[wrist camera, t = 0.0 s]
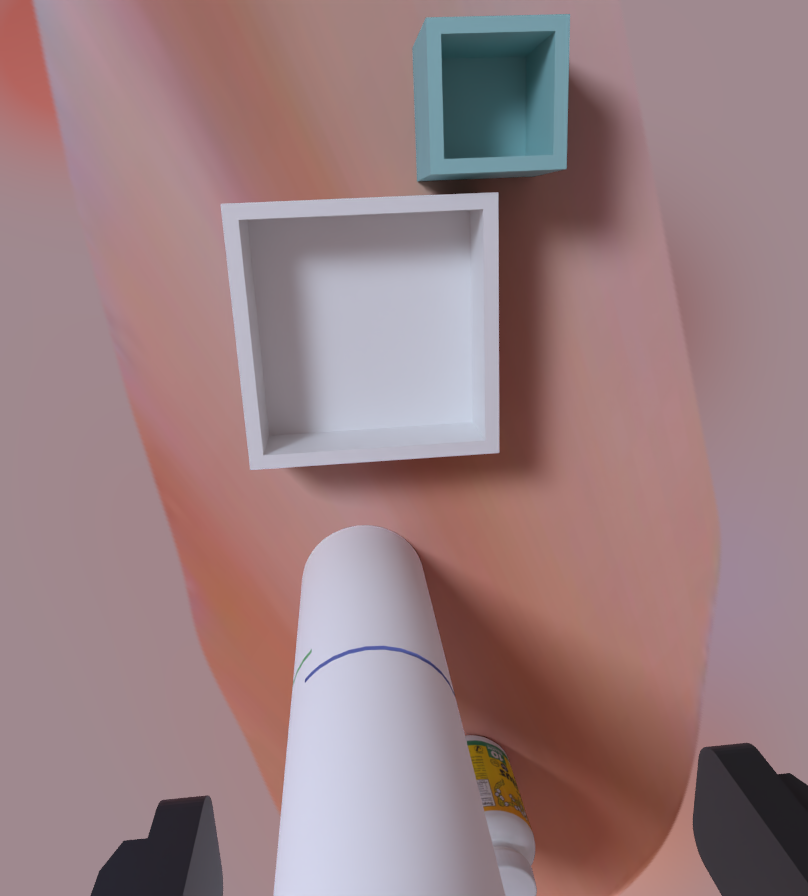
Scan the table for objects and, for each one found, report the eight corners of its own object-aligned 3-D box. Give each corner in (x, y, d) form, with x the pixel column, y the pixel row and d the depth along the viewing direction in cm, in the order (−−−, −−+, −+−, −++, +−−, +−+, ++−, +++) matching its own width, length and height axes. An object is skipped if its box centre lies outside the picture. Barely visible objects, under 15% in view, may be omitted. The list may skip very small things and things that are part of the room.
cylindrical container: (447, 586, 44) (583, 1026, 20) (355, 656, 44) (378, 1157, 21) (372, 501, 41) (422, 877, 18) (276, 575, 42) (202, 1030, 19)
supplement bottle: (417, 746, 47) (437, 874, 38) (497, 721, 47) (536, 842, 38) (440, 809, 48) (465, 946, 39) (517, 785, 48) (559, 916, 39)
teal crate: (412, 48, 35) (426, 17, 30) (535, 44, 35) (570, 14, 30) (416, 181, 37) (430, 174, 32) (533, 176, 37) (566, 169, 32)
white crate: (233, 205, 36) (220, 204, 32) (480, 195, 37) (498, 192, 33) (258, 444, 40) (250, 470, 36) (482, 429, 41) (499, 452, 37)
